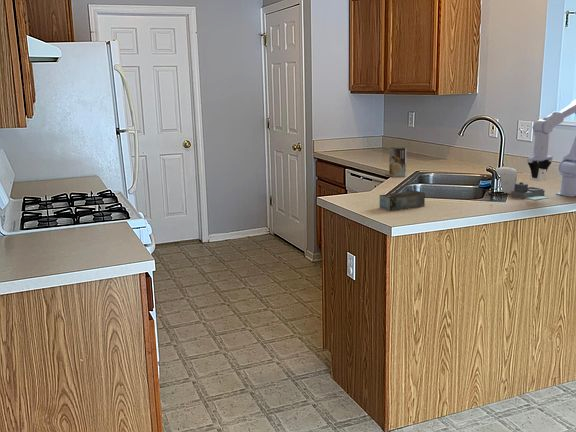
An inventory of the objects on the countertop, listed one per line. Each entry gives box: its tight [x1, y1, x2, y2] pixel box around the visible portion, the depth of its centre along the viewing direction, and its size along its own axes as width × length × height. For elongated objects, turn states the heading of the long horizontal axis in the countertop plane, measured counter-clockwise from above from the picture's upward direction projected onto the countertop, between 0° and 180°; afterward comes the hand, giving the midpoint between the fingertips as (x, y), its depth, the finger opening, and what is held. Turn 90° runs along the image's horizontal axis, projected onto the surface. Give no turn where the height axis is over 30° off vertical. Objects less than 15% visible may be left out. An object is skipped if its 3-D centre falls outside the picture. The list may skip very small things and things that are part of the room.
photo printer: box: [494, 166, 518, 195], centre depth 272 cm, size 10×4×12 cm, turn 60°
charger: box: [529, 168, 547, 182], centre depth 258 cm, size 4×5×5 cm
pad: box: [524, 195, 549, 201], centre depth 260 cm, size 9×5×1 cm, turn 119°
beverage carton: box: [378, 189, 426, 212], centre depth 245 cm, size 8×19×7 cm, turn 117°
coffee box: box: [388, 146, 407, 178], centre depth 324 cm, size 9×6×16 cm
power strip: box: [510, 181, 546, 200], centre depth 265 cm, size 14×7×7 cm, turn 119°
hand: (538, 177), depth 258 cm, fingers closed on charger, 4 cm apart
